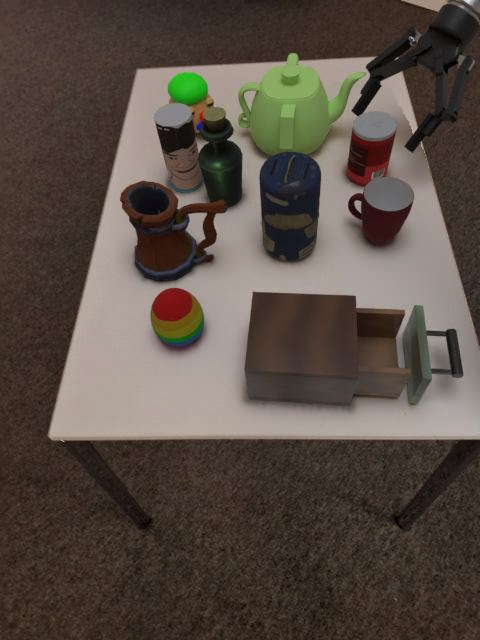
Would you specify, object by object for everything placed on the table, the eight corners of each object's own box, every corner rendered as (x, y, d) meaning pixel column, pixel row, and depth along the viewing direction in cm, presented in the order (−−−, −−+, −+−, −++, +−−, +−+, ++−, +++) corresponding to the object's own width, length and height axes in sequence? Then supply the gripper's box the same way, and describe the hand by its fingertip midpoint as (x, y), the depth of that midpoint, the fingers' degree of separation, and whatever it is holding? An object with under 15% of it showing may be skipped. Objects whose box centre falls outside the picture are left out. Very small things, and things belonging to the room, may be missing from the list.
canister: (325, 235, 87) (334, 152, 72) (301, 272, 83) (305, 192, 68) (278, 218, 90) (277, 135, 75) (253, 253, 86) (246, 172, 71)
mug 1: (239, 238, 88) (231, 173, 76) (228, 289, 82) (218, 227, 70) (145, 231, 91) (123, 167, 78) (127, 280, 85) (100, 219, 72)
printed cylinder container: (166, 191, 96) (149, 125, 84) (174, 169, 100) (158, 102, 87) (199, 193, 95) (187, 126, 83) (206, 170, 99) (195, 103, 86)
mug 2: (335, 240, 86) (340, 198, 78) (352, 210, 90) (359, 167, 81) (392, 259, 83) (405, 217, 75) (408, 228, 86) (421, 184, 78)
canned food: (391, 164, 96) (402, 115, 87) (379, 191, 92) (390, 142, 83) (353, 156, 98) (360, 107, 89) (340, 181, 94) (347, 133, 85)
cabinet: (348, 331, 76) (356, 295, 68) (350, 405, 69) (358, 376, 61) (255, 326, 78) (252, 291, 70) (248, 399, 71) (244, 369, 63)
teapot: (229, 135, 105) (222, 70, 93) (299, 97, 110) (301, 31, 98) (285, 178, 96) (286, 113, 84) (358, 135, 102) (368, 68, 89)
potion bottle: (223, 176, 98) (212, 93, 83) (254, 193, 94) (249, 109, 79) (196, 199, 95) (179, 117, 79) (227, 217, 91) (216, 135, 76)
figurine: (165, 128, 108) (153, 76, 98) (200, 110, 110) (192, 58, 100) (192, 153, 102) (182, 100, 92) (229, 133, 105) (223, 81, 95)
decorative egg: (206, 308, 80) (197, 270, 72) (207, 351, 76) (197, 316, 67) (158, 312, 81) (143, 275, 72) (155, 355, 76) (140, 321, 68)
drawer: (444, 335, 73) (460, 306, 67) (454, 406, 67) (473, 381, 61) (321, 330, 75) (325, 301, 69) (320, 397, 69) (324, 373, 63)
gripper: (532, 55, 77) (439, 171, 85) (415, 1, 89) (344, 107, 97) (523, 33, 71) (425, 160, 80) (399, -23, 83) (326, 93, 92)
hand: (380, 131), depth 89 cm, fingers open, 13 cm apart
